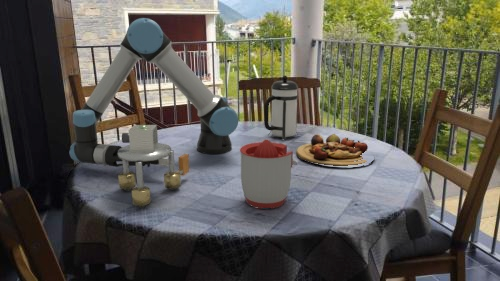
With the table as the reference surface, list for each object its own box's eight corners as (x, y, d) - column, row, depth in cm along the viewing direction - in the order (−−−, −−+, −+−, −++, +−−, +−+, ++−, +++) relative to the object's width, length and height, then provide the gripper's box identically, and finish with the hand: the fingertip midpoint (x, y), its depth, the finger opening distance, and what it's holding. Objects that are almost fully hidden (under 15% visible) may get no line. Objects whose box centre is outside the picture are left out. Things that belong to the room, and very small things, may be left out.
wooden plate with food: (337, 176, 147) (339, 154, 144) (280, 153, 171) (281, 134, 169) (390, 161, 165) (392, 142, 163) (332, 143, 190) (333, 126, 187)
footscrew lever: (176, 192, 129) (174, 154, 126) (161, 190, 131) (159, 152, 127) (194, 178, 142) (192, 142, 138) (180, 176, 143) (179, 141, 140)
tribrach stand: (176, 185, 136) (173, 119, 130) (167, 210, 118) (163, 134, 112) (122, 186, 135) (117, 120, 129) (105, 210, 117) (97, 135, 111)
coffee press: (267, 132, 205) (268, 73, 197) (298, 134, 203) (301, 74, 195) (263, 142, 188) (264, 77, 180) (298, 143, 186) (300, 78, 178)
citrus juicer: (303, 210, 118) (306, 144, 113) (245, 215, 115) (245, 148, 109) (287, 189, 133) (289, 131, 128) (236, 193, 130) (235, 133, 124)
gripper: (121, 159, 152) (177, 166, 145) (99, 171, 140) (159, 178, 133) (120, 140, 150) (176, 146, 143) (97, 150, 138) (158, 157, 131)
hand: (168, 162), depth 138 cm, fingers closed
